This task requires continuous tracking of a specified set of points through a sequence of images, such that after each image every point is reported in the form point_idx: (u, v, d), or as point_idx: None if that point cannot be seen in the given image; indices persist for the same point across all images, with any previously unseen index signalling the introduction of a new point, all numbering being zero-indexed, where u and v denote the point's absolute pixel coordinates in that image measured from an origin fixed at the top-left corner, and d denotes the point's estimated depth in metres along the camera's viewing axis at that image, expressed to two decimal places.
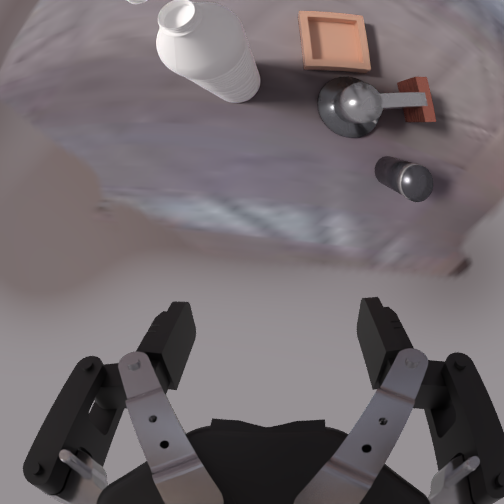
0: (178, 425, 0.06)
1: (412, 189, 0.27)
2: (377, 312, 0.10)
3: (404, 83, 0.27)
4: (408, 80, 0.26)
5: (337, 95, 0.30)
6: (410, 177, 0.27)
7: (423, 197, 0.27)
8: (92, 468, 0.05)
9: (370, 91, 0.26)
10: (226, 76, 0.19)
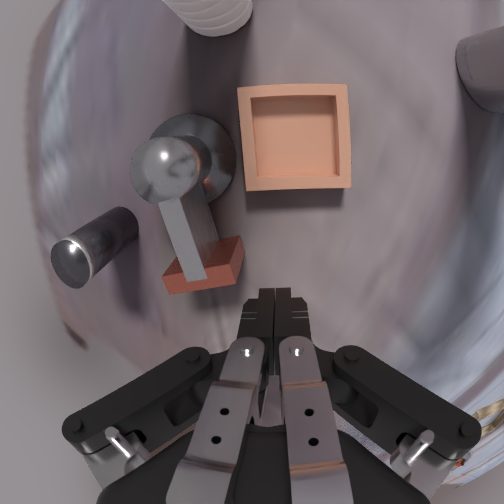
0: (242, 430, 0.06)
1: (60, 257, 0.19)
2: (282, 301, 0.12)
3: (231, 245, 0.24)
4: (231, 252, 0.23)
5: (191, 137, 0.21)
6: (69, 253, 0.19)
7: (59, 275, 0.20)
8: (133, 454, 0.06)
9: (178, 182, 0.19)
10: None
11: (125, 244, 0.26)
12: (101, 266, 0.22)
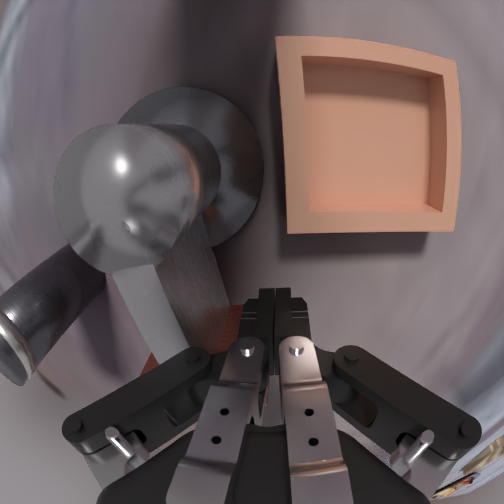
0: (242, 430, 0.06)
1: None
2: (282, 301, 0.12)
3: None
4: None
5: (182, 127, 0.11)
6: None
7: None
8: (133, 454, 0.06)
9: (149, 231, 0.08)
10: None
11: (84, 305, 0.15)
12: (46, 352, 0.11)
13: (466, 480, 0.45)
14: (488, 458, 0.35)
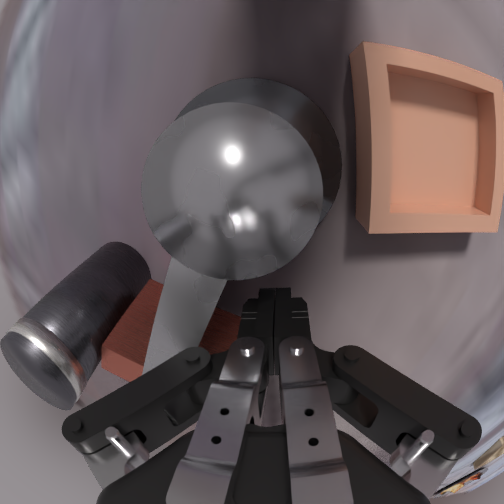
0: (242, 430, 0.06)
1: (16, 361, 0.08)
2: (282, 301, 0.12)
3: (230, 339, 0.14)
4: None
5: None
6: (28, 361, 0.08)
7: (25, 382, 0.09)
8: (133, 454, 0.06)
9: (252, 251, 0.08)
10: None
11: None
12: (94, 368, 0.11)
13: (474, 475, 0.45)
14: (497, 452, 0.34)
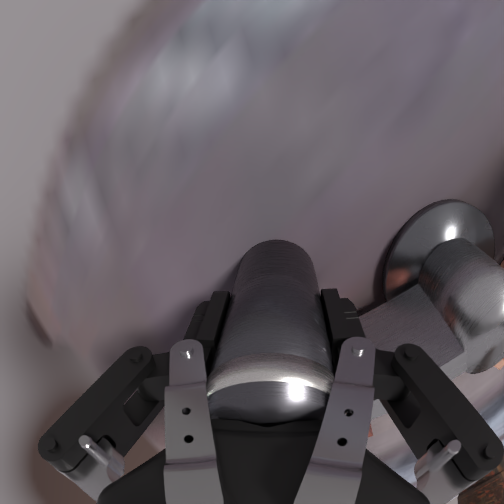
0: (209, 423, 0.06)
1: (263, 418, 0.06)
2: (332, 302, 0.11)
3: None
4: None
5: None
6: None
7: None
8: (110, 458, 0.05)
9: (483, 362, 0.09)
10: None
11: None
12: None
13: None
14: None
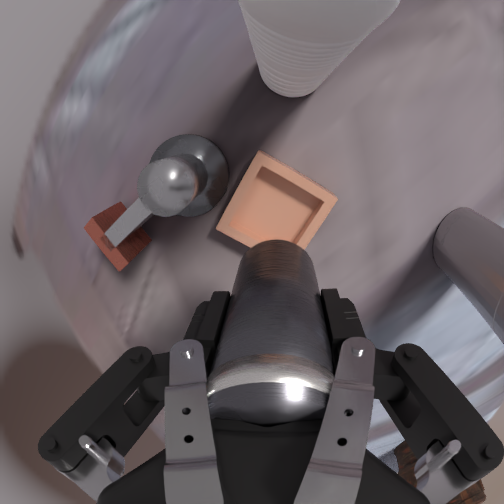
0: (209, 423, 0.06)
1: (262, 419, 0.06)
2: (332, 302, 0.11)
3: (141, 244, 0.29)
4: (136, 252, 0.27)
5: (204, 180, 0.26)
6: None
7: None
8: (110, 458, 0.05)
9: (162, 207, 0.23)
10: None
11: None
12: None
13: None
14: None
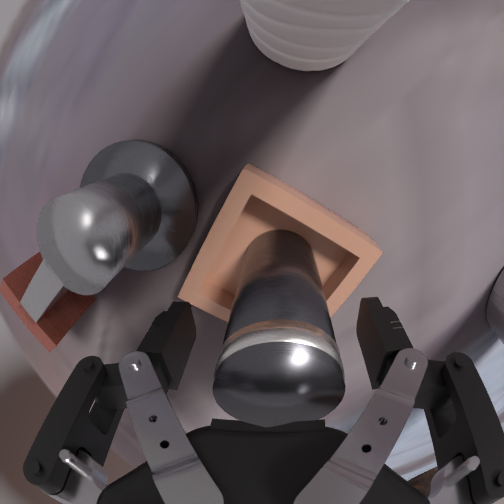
0: (178, 425, 0.06)
1: (273, 379, 0.08)
2: (377, 312, 0.10)
3: (78, 310, 0.17)
4: (70, 324, 0.16)
5: (151, 220, 0.15)
6: (317, 386, 0.08)
7: (223, 394, 0.08)
8: (92, 468, 0.05)
9: (75, 279, 0.12)
10: None
11: None
12: None
13: None
14: None
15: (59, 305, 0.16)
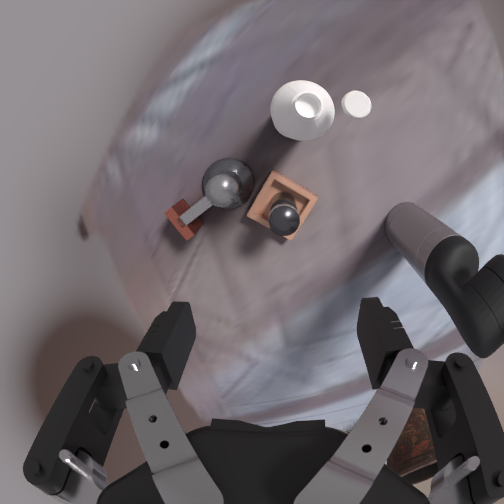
0: (178, 425, 0.06)
1: (282, 214, 0.38)
2: (377, 312, 0.10)
3: (198, 225, 0.48)
4: (197, 229, 0.47)
5: (240, 187, 0.45)
6: (292, 217, 0.38)
7: (271, 221, 0.39)
8: (92, 468, 0.05)
9: (219, 202, 0.42)
10: None
11: None
12: None
13: None
14: None
15: (192, 221, 0.47)
